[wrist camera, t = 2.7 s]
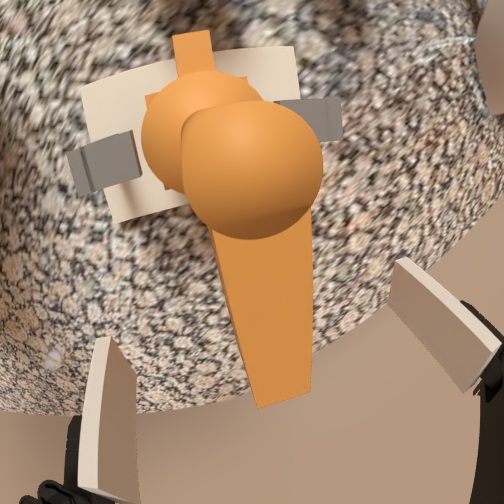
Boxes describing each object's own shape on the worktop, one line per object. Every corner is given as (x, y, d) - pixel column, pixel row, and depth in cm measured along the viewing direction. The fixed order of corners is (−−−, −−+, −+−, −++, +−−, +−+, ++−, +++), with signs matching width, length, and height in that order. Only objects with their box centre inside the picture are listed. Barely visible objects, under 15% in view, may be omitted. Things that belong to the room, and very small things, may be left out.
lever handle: (178, 245, 24) (194, 423, 10) (137, 62, 16) (48, -34, 2) (264, 224, 26) (365, 369, 11) (238, 44, 17) (363, -58, 3)
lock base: (117, 218, 26) (89, 279, 17) (85, 88, 19) (29, 79, 9) (302, 175, 29) (362, 213, 19) (287, 49, 22) (349, 22, 12)
